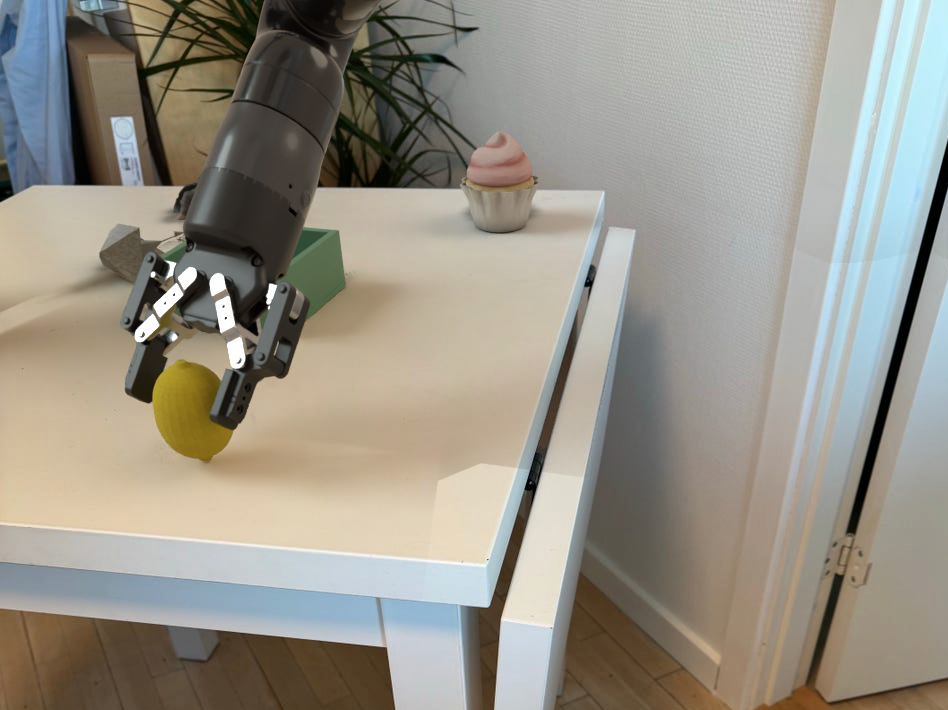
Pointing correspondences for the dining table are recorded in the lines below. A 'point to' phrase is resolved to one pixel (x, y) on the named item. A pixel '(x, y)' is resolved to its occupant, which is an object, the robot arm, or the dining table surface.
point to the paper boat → (127, 250)
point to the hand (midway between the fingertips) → (178, 412)
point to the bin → (304, 267)
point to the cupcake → (500, 185)
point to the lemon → (189, 410)
